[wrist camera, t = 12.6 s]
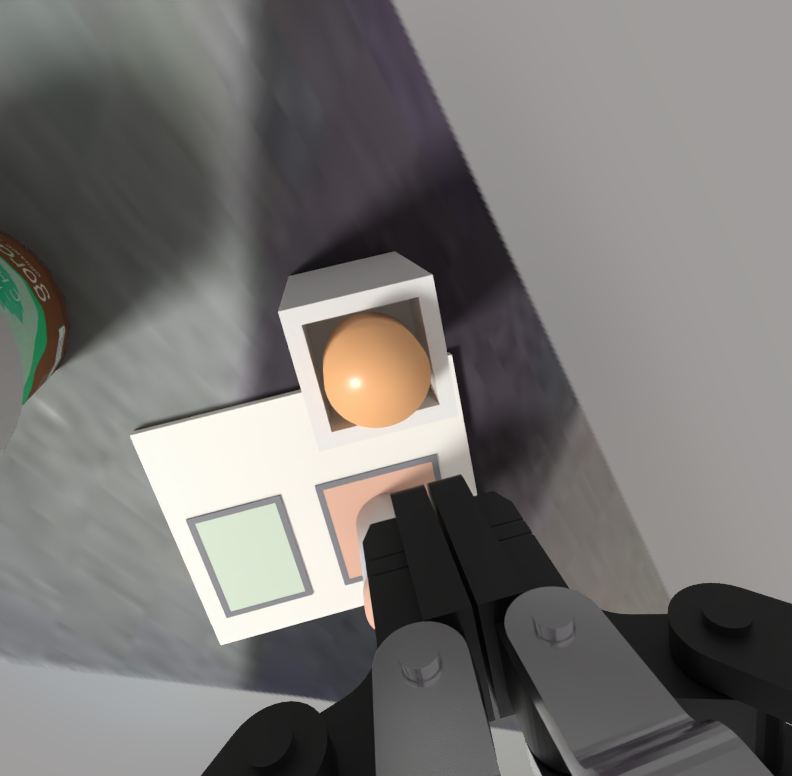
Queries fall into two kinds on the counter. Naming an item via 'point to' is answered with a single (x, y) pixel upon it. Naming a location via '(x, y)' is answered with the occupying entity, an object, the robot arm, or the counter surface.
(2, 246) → the food container
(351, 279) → the white open box
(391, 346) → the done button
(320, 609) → the picture board
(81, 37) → the counter surface
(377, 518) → the peach-capped grey cylinder
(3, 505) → the counter surface
